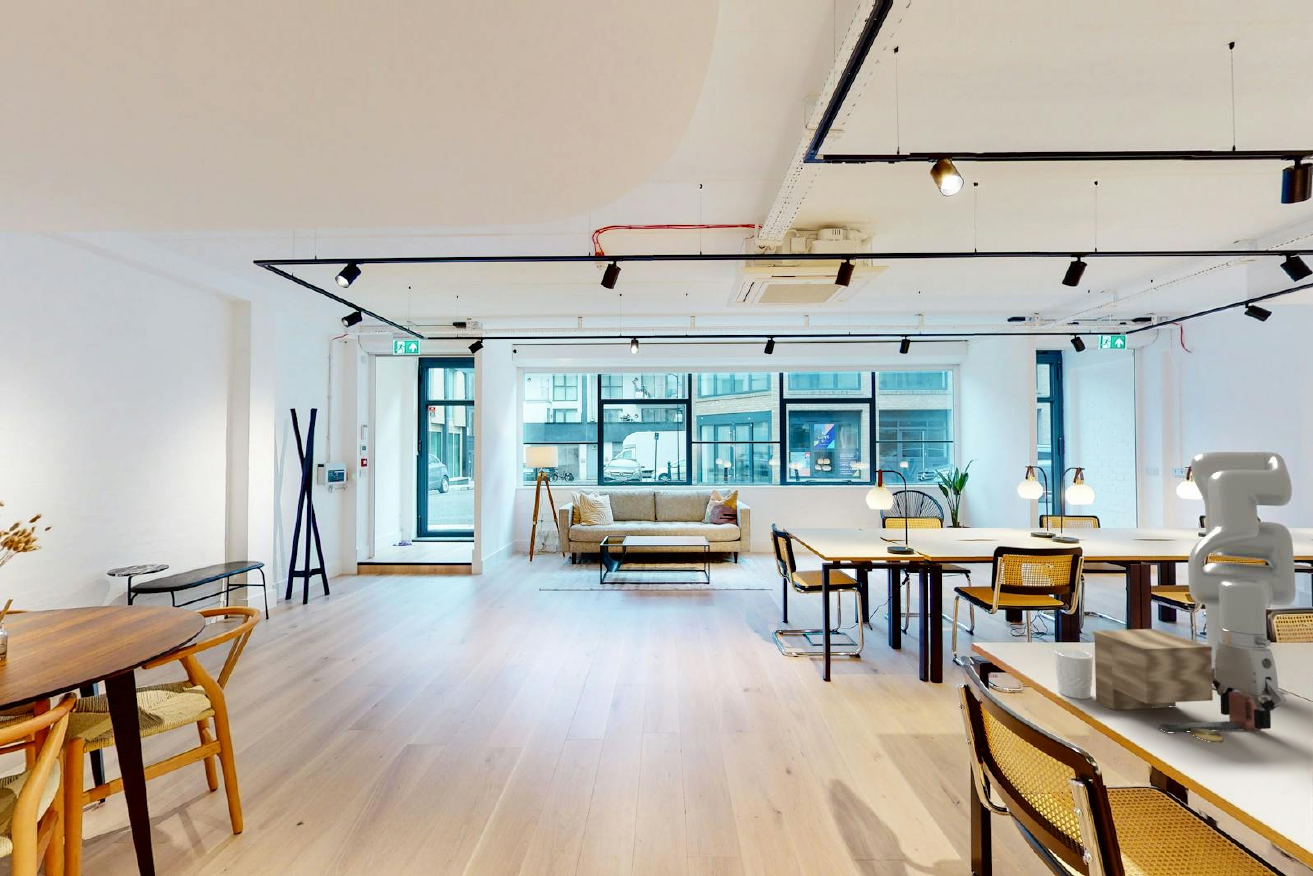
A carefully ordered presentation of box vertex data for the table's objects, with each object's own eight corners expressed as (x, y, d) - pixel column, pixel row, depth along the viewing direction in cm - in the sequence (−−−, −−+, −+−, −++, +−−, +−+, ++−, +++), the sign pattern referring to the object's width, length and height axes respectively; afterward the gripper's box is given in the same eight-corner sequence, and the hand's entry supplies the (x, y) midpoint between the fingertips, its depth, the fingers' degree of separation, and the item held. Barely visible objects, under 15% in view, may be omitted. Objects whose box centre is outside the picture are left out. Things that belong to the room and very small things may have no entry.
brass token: (1205, 732, 135) (1205, 727, 135) (1229, 743, 130) (1229, 737, 130) (1184, 734, 134) (1184, 728, 134) (1208, 745, 129) (1207, 739, 129)
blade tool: (1243, 723, 139) (1243, 691, 139) (1260, 730, 135) (1259, 697, 135) (1155, 727, 137) (1155, 695, 137) (1170, 734, 133) (1169, 701, 133)
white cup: (1099, 701, 151) (1099, 659, 151) (1063, 699, 153) (1062, 657, 153) (1084, 689, 159) (1083, 649, 159) (1050, 687, 160) (1049, 647, 161)
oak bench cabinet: (1156, 698, 153) (1154, 628, 153) (1214, 723, 139) (1212, 646, 139) (1093, 701, 151) (1092, 630, 152) (1146, 726, 137) (1144, 649, 138)
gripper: (1302, 650, 129) (1305, 738, 128) (1219, 627, 146) (1221, 704, 146) (1269, 651, 128) (1272, 740, 128) (1189, 628, 145) (1191, 706, 145)
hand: (1245, 720), depth 137 cm, fingers open, 6 cm apart
